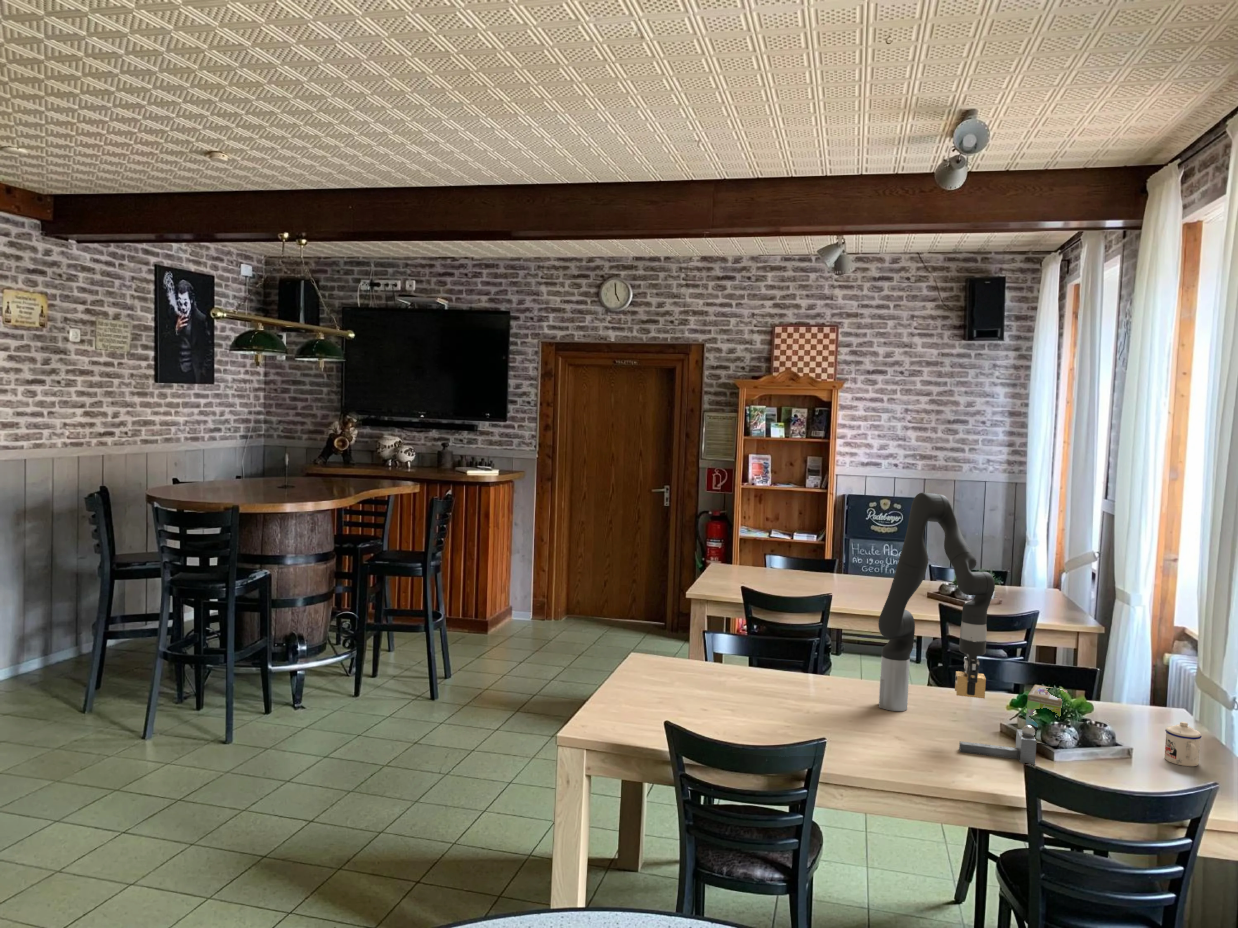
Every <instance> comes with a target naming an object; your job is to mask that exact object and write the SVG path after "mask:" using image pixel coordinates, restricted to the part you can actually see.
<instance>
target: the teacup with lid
mask: <svg viewBox="0 0 1238 928" xmlns="http://www.w3.org/2000/svg"><path fill="white" fill-rule="evenodd" d="M1164 731H1165V732H1166V733H1165V745H1164V759H1165V760H1166V761H1167V762H1169V763H1171V764H1174V765H1178V766H1183V767H1197V766H1198V765H1199V764H1200V762H1199V761H1200V752H1201V751H1200V749H1201V738H1202V734H1201V732H1200V731H1198V730H1197V729H1194V728H1192V727H1191V726H1189V724H1188V722H1186V721H1179V724H1174V725H1169V726H1167V727H1165V730H1164Z"/></svg>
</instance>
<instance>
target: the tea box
mask: <svg viewBox="0 0 1238 928" xmlns="http://www.w3.org/2000/svg"><path fill="white" fill-rule="evenodd" d="M1046 688H1052V687H1050V686H1044V685H1040V684H1034V685H1033V687H1032V688H1031V690H1030V691H1029V692H1028V694H1027V703H1026V713H1025V714H1026V715H1025V724H1024V726H1026V725H1030V726H1032V727H1033V728H1034V729H1035V732H1036V731H1037V730H1038V724H1037V723H1036V722H1035V721H1034V720H1033V719H1031V718H1030V717H1029V716H1031V715H1033V714H1034V713H1033V712H1034V711H1035V709H1040V708H1041V709H1043V708H1047V709H1049V710H1051V711H1052V712H1055V713H1057V714H1058V716H1059V717H1060V716H1061V708H1062V699H1061V698H1057V697H1055V696H1053V695H1051V694H1050V693H1049V692H1048V691H1047V690H1048V689H1046ZM1059 689H1060V690H1063V691H1064V692H1066V693H1069V692H1068V690H1067V689H1061V688H1059ZM1057 714H1056V715H1057Z"/></svg>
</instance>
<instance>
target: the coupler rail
mask: <svg viewBox="0 0 1238 928" xmlns="http://www.w3.org/2000/svg"><path fill="white" fill-rule="evenodd" d="M1034 735H1035V729H1034V728H1033V727H1032V726H1030V725H1026V726H1025V725H1024V726H1023V727H1021V729H1018V728H1016V737H1015V747H1012V746H1005V745H1003V746H1002V745H995V744H987V743H985V744H984V743H979V742H978V743H977V742H971V741H970V742H969V741H962V740H961V741H959V745H958V746H959V747H958V750H959V753H964V754H966V753H967V754H973V755H982V756H990V757H999V758H1007V759H1015V760H1018V762H1019V764H1025V763H1030V764H1029V765H1036V757H1037V756H1036V755H1037V754H1036V753H1037V743H1036V742H1037V741H1036V739H1035V737H1034Z"/></svg>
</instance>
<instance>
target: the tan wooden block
mask: <svg viewBox="0 0 1238 928" xmlns="http://www.w3.org/2000/svg"><path fill="white" fill-rule="evenodd" d="M970 678H974V675H971V677H970ZM954 679H955V682H954V691H955V692H956V694H955V695H956V696H957V697H958V696H959V697H968V698H976V699H985V696H986V684H987V683H986V682H987V678H986V676H985V674H984V673H979V672H978V677H977V680H978V681H977V683H976V684H975V695H968V694H967V683H968V682H967V675H966V672H965V671H959V670H958V671H955V678H954Z"/></svg>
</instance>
